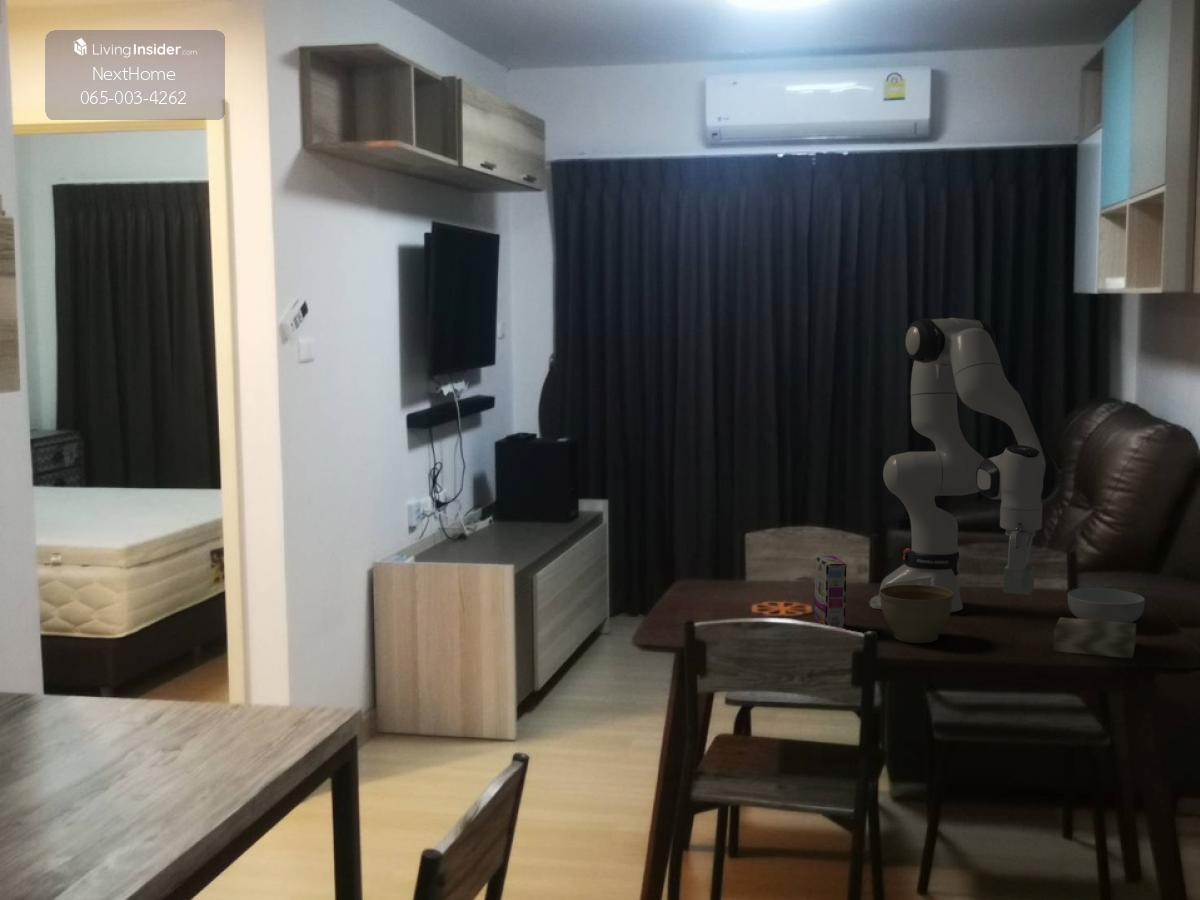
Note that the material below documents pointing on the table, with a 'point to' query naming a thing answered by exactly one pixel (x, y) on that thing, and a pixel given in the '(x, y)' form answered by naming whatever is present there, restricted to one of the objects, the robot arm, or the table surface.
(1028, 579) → the sage block
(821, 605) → the candy bar box
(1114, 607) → the cereal bowl
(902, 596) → the planter bowl
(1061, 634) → the birch riser
